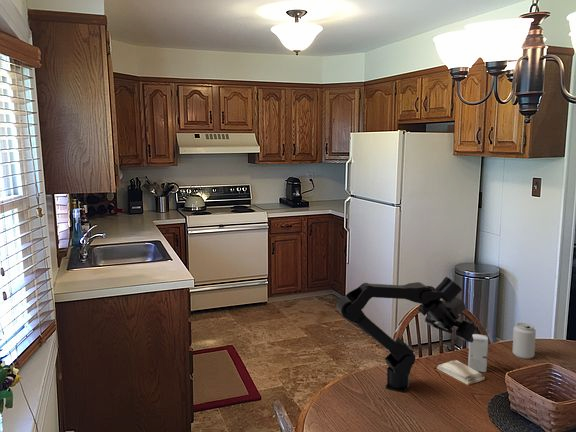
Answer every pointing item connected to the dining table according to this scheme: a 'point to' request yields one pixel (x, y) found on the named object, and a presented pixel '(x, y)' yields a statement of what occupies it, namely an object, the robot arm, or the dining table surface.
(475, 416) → the dining table surface
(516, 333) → the can
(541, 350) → the dining table surface
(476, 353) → the skincare box
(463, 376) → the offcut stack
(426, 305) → the robot arm
